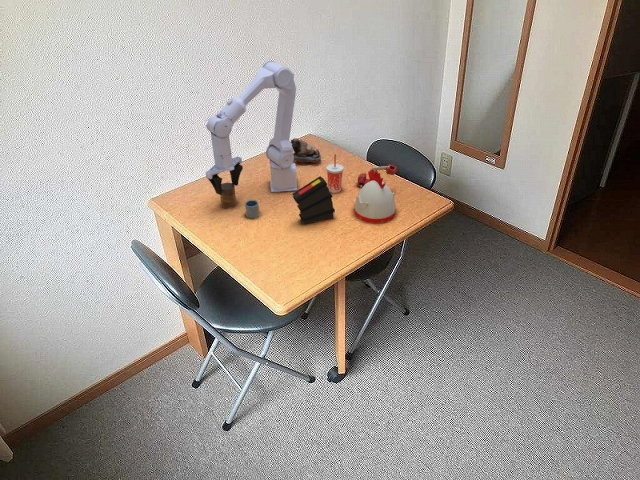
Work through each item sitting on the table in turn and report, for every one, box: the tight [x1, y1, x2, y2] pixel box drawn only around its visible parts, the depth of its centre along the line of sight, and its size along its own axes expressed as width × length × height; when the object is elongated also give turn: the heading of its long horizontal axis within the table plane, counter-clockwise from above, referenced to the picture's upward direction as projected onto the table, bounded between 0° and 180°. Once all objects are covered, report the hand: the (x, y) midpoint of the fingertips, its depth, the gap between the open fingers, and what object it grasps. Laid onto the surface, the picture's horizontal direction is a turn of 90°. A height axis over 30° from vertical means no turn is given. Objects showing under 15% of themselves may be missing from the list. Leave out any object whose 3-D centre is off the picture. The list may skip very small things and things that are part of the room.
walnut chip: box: [221, 182, 236, 196], centre depth 166 cm, size 5×5×2 cm
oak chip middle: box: [219, 192, 237, 202], centre depth 167 cm, size 5×5×2 cm
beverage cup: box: [325, 153, 345, 194], centre depth 173 cm, size 6×6×14 cm
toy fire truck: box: [356, 164, 397, 189], centre depth 175 cm, size 3×14×10 cm, turn 68°
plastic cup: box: [244, 199, 260, 219], centre depth 162 cm, size 4×4×4 cm
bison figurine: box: [290, 137, 322, 164], centre depth 192 cm, size 12×7×10 cm, turn 94°
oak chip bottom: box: [220, 198, 237, 209], centre depth 168 cm, size 5×5×2 cm
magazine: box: [291, 175, 336, 225], centre depth 158 cm, size 4×13×15 cm, turn 110°
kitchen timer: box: [353, 169, 396, 224], centre depth 160 cm, size 14×14×15 cm
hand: (227, 189), depth 166 cm, fingers open, 7 cm apart
